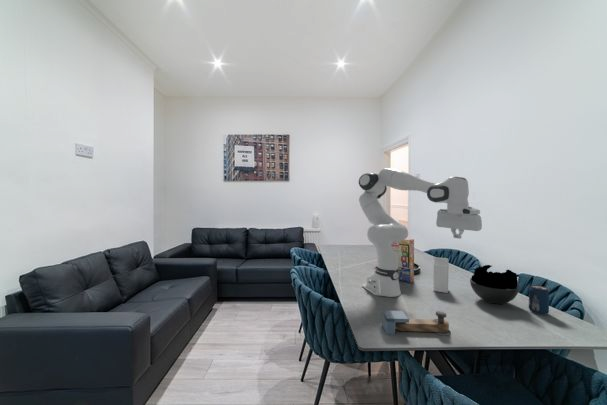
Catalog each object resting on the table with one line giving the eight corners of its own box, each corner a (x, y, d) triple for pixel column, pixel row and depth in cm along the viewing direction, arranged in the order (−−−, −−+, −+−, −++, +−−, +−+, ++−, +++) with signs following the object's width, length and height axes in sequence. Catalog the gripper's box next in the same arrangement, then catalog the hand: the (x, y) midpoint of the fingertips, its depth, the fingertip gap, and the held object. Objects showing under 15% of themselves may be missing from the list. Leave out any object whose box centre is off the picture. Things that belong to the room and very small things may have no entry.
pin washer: (427, 328, 103) (427, 328, 103) (438, 324, 106) (438, 324, 106) (443, 337, 97) (443, 336, 97) (454, 332, 100) (454, 332, 100)
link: (444, 326, 104) (444, 310, 104) (451, 333, 99) (451, 316, 99) (393, 324, 106) (393, 309, 105) (397, 331, 100) (397, 315, 100)
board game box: (414, 280, 162) (414, 239, 162) (410, 283, 158) (411, 240, 157) (384, 274, 176) (384, 235, 176) (380, 276, 172) (380, 236, 171)
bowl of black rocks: (461, 294, 140) (462, 260, 139) (498, 294, 139) (499, 261, 139) (486, 310, 120) (487, 271, 119) (529, 311, 119) (530, 271, 119)
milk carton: (447, 293, 141) (448, 259, 141) (433, 291, 145) (433, 258, 144) (448, 289, 147) (448, 257, 147) (434, 287, 151) (434, 255, 151)
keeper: (387, 334, 99) (387, 318, 99) (382, 325, 106) (382, 310, 106) (408, 334, 99) (409, 319, 99) (402, 325, 106) (402, 310, 106)
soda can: (546, 311, 119) (546, 286, 119) (551, 317, 113) (551, 290, 113) (526, 307, 123) (527, 283, 122) (530, 313, 117) (531, 288, 116)
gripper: (433, 209, 130) (433, 235, 130) (476, 210, 112) (475, 241, 112) (441, 208, 133) (441, 234, 133) (483, 210, 115) (483, 240, 115)
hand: (457, 238), depth 122 cm, fingers closed
